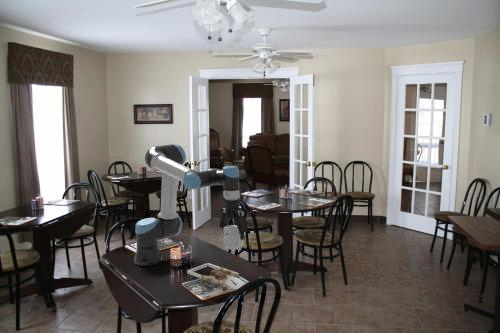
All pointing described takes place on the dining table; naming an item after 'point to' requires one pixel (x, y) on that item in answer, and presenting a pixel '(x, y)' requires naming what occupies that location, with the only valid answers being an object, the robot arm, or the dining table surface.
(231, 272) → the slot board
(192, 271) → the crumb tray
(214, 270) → the chip
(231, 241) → the small box
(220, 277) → the chip
